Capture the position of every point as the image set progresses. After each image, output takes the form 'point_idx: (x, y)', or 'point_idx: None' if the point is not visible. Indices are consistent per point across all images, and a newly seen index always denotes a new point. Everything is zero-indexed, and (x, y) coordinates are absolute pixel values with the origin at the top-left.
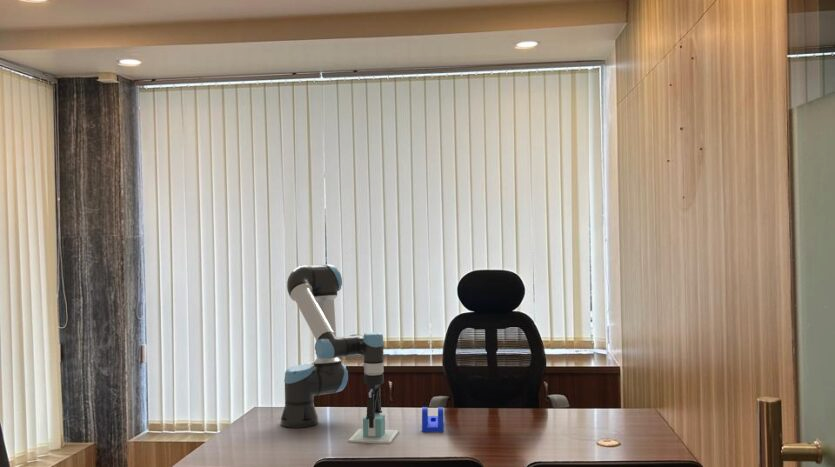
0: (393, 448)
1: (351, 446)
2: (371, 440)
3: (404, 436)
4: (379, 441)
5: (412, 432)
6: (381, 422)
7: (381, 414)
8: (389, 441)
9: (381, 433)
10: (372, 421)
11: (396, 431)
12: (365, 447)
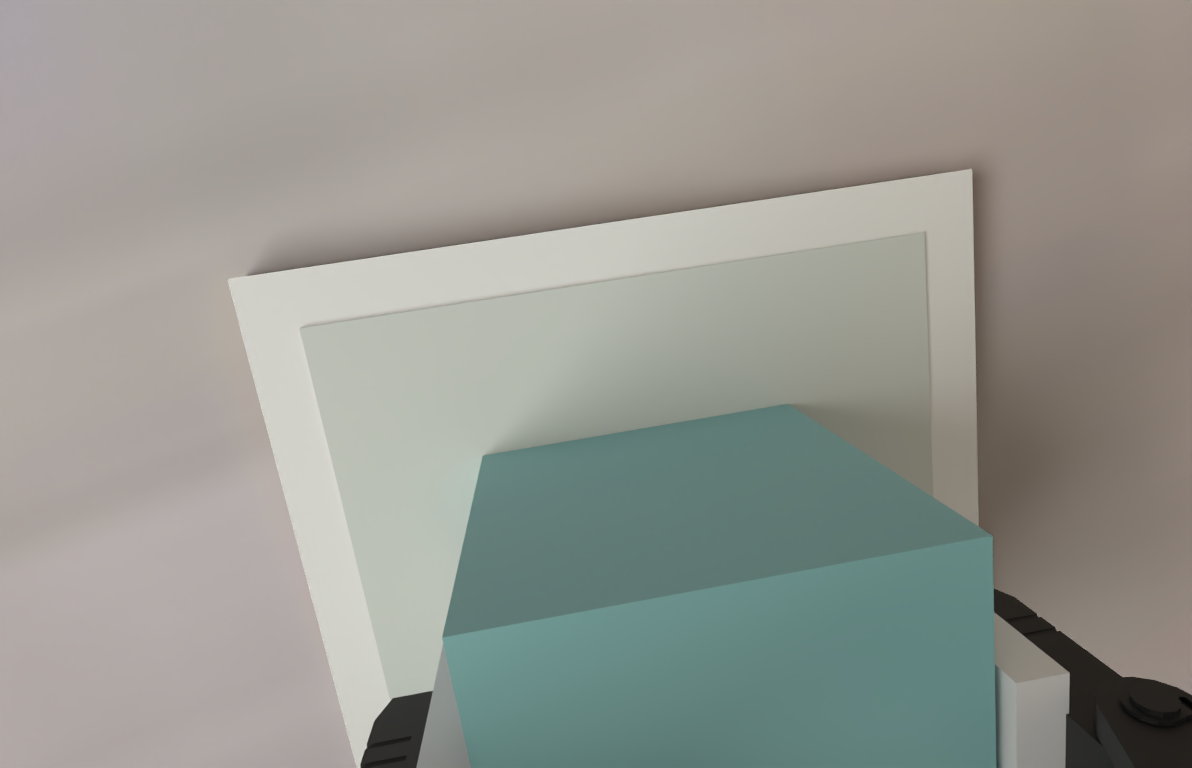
0: (1180, 39)
1: (1138, 647)
2: (955, 487)
3: (462, 83)
4: (974, 355)
5: (137, 13)
6: (876, 500)
7: (466, 727)
8: (968, 190)
9: (783, 424)
10: (1112, 673)
11: (323, 291)
12: (1165, 464)
